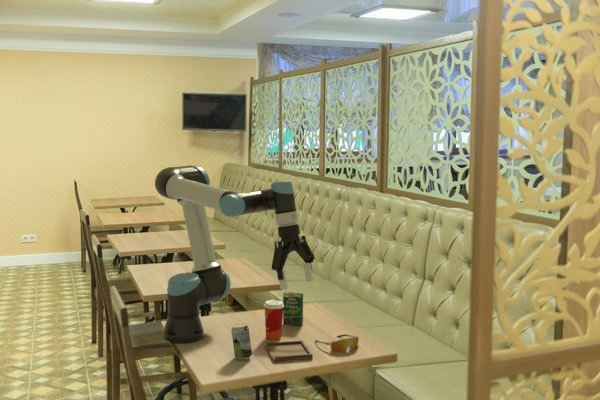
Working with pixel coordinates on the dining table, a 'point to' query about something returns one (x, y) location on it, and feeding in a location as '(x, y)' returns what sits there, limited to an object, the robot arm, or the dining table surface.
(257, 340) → the dining table surface
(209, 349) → the dining table surface
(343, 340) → the sunglasses
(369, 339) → the dining table surface
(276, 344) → the far tray
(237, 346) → the beverage can
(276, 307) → the paper cup
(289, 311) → the coffee box
